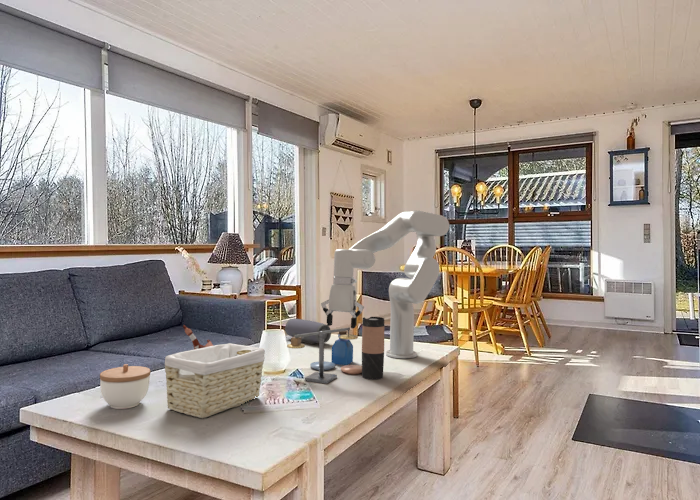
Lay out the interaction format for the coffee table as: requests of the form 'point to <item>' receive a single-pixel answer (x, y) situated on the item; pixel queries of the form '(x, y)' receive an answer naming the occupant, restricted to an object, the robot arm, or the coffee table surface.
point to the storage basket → (213, 378)
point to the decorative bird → (194, 339)
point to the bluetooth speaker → (306, 330)
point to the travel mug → (372, 348)
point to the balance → (320, 353)
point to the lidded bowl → (124, 385)
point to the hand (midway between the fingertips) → (341, 326)
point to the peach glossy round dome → (352, 369)
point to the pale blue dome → (326, 365)
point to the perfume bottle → (342, 351)
